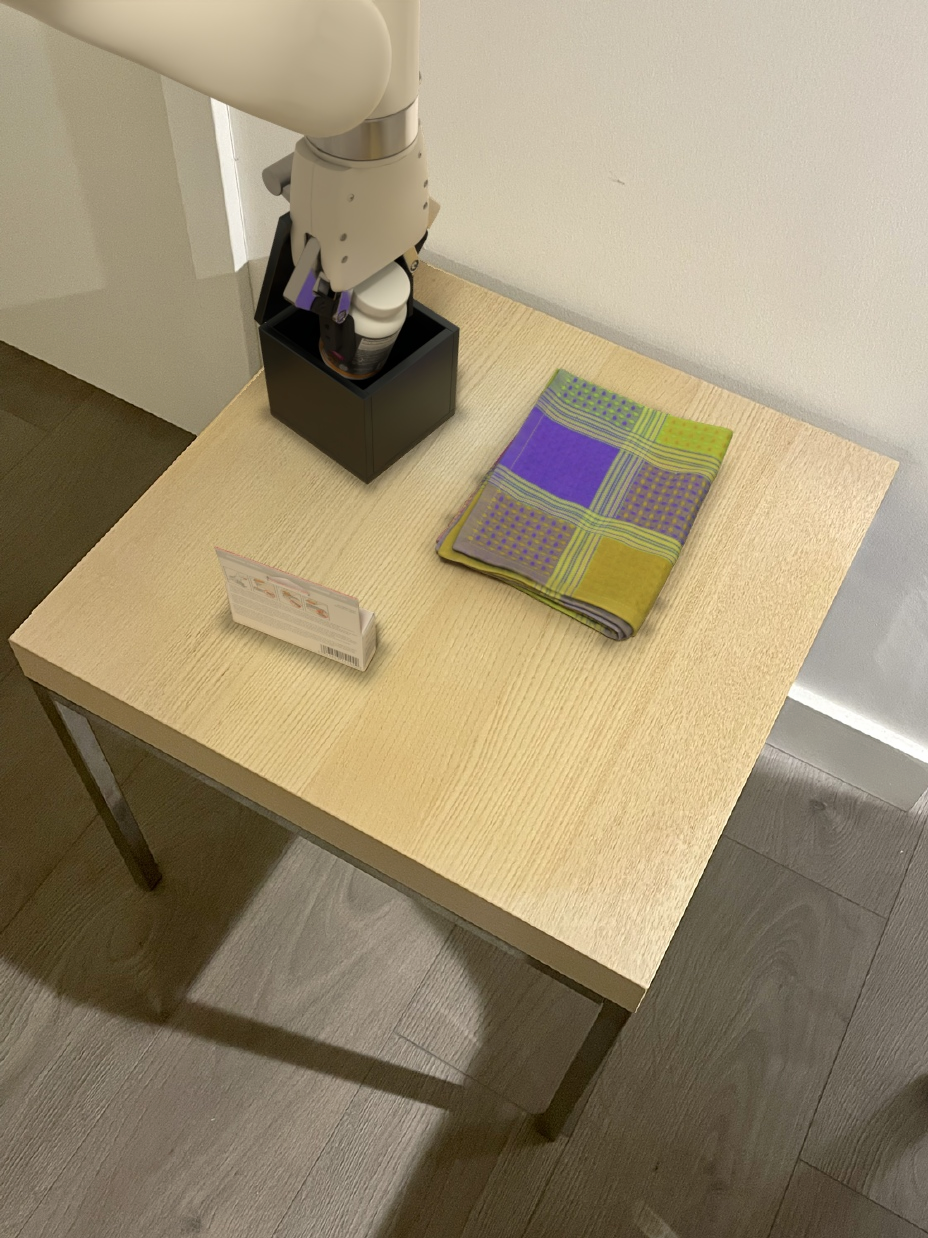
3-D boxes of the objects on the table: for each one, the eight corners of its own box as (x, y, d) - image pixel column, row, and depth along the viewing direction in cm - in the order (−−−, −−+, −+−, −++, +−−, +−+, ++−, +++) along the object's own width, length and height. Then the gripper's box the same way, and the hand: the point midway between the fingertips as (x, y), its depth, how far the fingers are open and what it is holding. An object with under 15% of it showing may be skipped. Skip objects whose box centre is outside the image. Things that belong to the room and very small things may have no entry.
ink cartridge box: (246, 599, 82) (229, 519, 74) (378, 649, 81) (375, 574, 72) (230, 623, 81) (211, 546, 73) (364, 675, 79) (360, 601, 71)
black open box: (455, 413, 94) (460, 327, 86) (367, 484, 89) (363, 400, 81) (359, 349, 98) (355, 260, 90) (270, 414, 93) (257, 326, 85)
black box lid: (397, 155, 78) (347, 102, 78) (286, 225, 73) (233, 168, 73) (358, 259, 89) (314, 213, 89) (260, 325, 84) (214, 277, 84)
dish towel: (738, 450, 93) (747, 428, 91) (625, 658, 81) (631, 639, 79) (558, 375, 97) (561, 352, 95) (424, 563, 85) (425, 542, 83)
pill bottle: (306, 331, 88) (329, 256, 79) (369, 315, 90) (398, 241, 81) (334, 390, 87) (360, 321, 78) (396, 373, 89) (429, 305, 80)
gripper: (407, 40, 74) (406, 256, 89) (220, 144, 67) (253, 361, 82) (490, 84, 72) (474, 298, 87) (305, 198, 64) (323, 411, 79)
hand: (367, 327), depth 84 cm, fingers closed on pill bottle, 5 cm apart
